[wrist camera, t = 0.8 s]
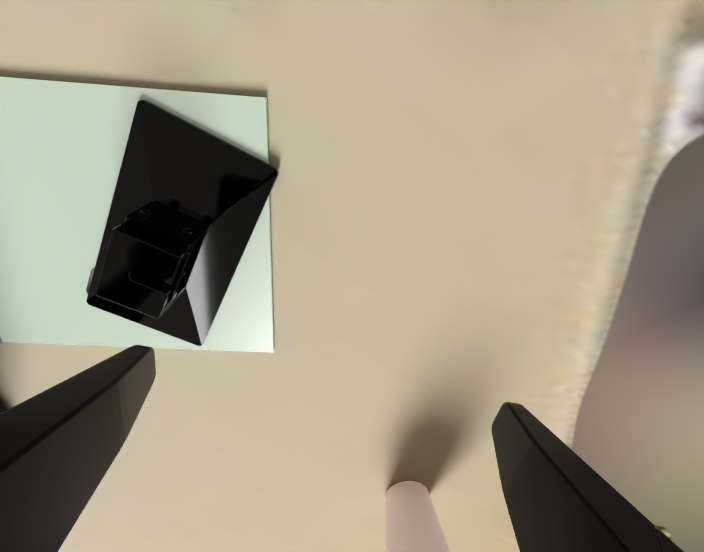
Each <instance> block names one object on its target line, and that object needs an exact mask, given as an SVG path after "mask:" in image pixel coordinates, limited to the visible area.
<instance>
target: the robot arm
mask: <svg viewBox="0 0 704 552" xmlns="http://www.w3.org/2000/svg"><path fill="white" fill-rule="evenodd" d="M155 375H156V368H155V354H154V350H153V348H152V347H148V346H142V345H134V346H131V347H129V348H127V349H125V350H123V351H121V352H119V353H118V354H116V355H114V356H112V357H110V358H108V359H106V360H104V361H102V362H100V363H98V364H96V365H94V366H92V367H90V368H88V369H86V370H84V371H83V372H81V373H79V374H77V375H75V376H73V377H71V378H69V379H67V380H65V381H63V382H61V383H59V384H57V385H55V386H53V387H51V388H49V389H47V390H46V391H44V392H42V393H40V394H38V395H36V396H34V397H32V398H30V399H28V400H26V401H24V402H22V403H20V404H18V405H16V406H14V407H12V408H11V409H9V410H7V411H5V409H4V407H3V405H2V403H1V401H0V552H58V550H59V549H60V547H61V545H62V544H63V542H64V540H65V539H66V537H67V536H68V534H69V532H70V531H71V529H72V527H73V526H74V524H75V523H76V521H77V519H78V518H79V516H80V514H81V513H82V511H83V509H84V508H85V506H86V505H87V503H88V501H89V500H90V498H91V496H92V495H93V493H94V492H95V490H96V488H97V487H98V485H99V483H100V482H101V480H102V478H103V477H104V475H105V474H106V472H107V470H108V469H109V467H110V465H111V464H112V462H113V461H114V459H115V457H116V456H117V454H118V452H119V451H120V449H121V447H122V446H123V444H124V442H125V440H126V438H127V436H128V434H129V433H130V431H131V428H132V426H133V424H134V422H135V420H136V418H137V416H138V414H139V412H140V409H141V407H142V405H143V403H144V401H145V399H146V397H147V395H148V393H149V391H150V388H151V386H152V384H153V382H154V379H155ZM492 436H493V441H494V447H495V452H496V458H497V463H498V469H499V474H500V480H501V484H502V489H503V493H504V497H505V501H506V504H507V508H508V511H509V515H510V518H511V522H512V525H513V529H514V532H515V536H516V539H517V543H518V546H519V550H520V552H684V551H682V550H681V549H680V548H679V547H678V546H677V545H676V544H675V543H673V542H672V541H671V540H670V539H669V538H668V537H667V536H666V535H665V534H664V533H663V532H661V531H660V530H659V529H657V528H655V526H654V524H652V523H651V522H650V521H649V520H648V519H647V518H646V517H645V516H644V515H643V514H641V513H640V512H639V511H638V510H637V509H636V508H635V507H634V506H633V505H632V504H630V503H629V502H628V501H627V500H626V499H625V498H624V497H623V496H622V495H621V494H619V493H618V492H617V491H616V490H615V489H614V488H613V487H612V486H611V485H609V484H608V483H607V482H606V481H605V480H604V479H603V478H602V477H601V476H599V475H598V474H597V473H596V472H595V471H594V470H593V469H592V468H591V467H590V466H589V465H587V464H586V463H585V462H584V461H583V460H582V459H581V458H580V457H578V456H577V455H576V454H575V453H574V452H573V451H572V450H571V449H570V448H569V447H568V446H567V445H565V444H564V443H563V442H562V441H561V440H560V439H559V438H558V437H557V436H556V435H554V434H553V433H552V432H551V431H550V430H549V429H548V428H547V427H546V426H545V425H543V424H542V423H541V422H540V421H539V420H538V419H537V418H536V417H535V416H534V415H532V414H531V413H530V412H529V411H528V410H527V409H526V408H525V407H524V406H522V405H521V404H518V403H511V402H505V403H504V404H503V405H502V406H501V408H500V410H499V412H498V414H497V416H496V417H495V419H494V421H493V424H492Z"/></svg>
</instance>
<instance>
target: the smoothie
mask: <svg viewBox="0 0 704 552" xmlns="http://www.w3.org/2000/svg"><path fill="white" fill-rule="evenodd" d="M385 552H450V551H449V549H448V546H447V543H446V540H445V537H444V534H443V532H442V529H441V526H440V523H439V520H438V517H437V515H436V512H435V509H434V506H433V503H432V500H431V497H430V495H429V492H428V489H427V487H426V486H425V485H423V484H422V483H419V482H416V481H403V482H399V483H396V484H394V485H393V486H391V487H390V488H389V489H388V490H387V492H386V515H385Z"/></svg>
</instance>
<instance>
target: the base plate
mask: <svg viewBox="0 0 704 552" xmlns="http://www.w3.org/2000/svg"><path fill="white" fill-rule="evenodd" d="M139 100H147V101H149V102H151V103H153V104H155V105H157V106H159V107H161V108H163V109H164V110H166V111H168V112H170V113H172V114H174V115H176V116H178V117H180V118H182V119H184V120H186V121H188V122H189V123H191V124H193V125H195V126H197V127H199V128H201V129H203V130H205V131H207V132H209V133H211V134H213V135H214V136H216V137H218V138H220V139H222V140H224V141H226V142H228V143H230V144H232V145H234V146H236V147H238V148H239V149H241V150H243V151H245V152H247V153H249V154H251V155H253V156H255V157H257V158H259V159H261V160H263V161H264V162H266V163H269V150H268V115H267V98H266V97H253V96H241V95H228V94H215V93H202V92H190V91H177V90H164V89H152V88H139V87H126V86H114V85H101V84H88V83H76V82H63V81H50V80H38V79H25V78H12V77H0V344H1V343H2V342H16V343H42V344H68V345H94V346H119V347H131V346H134V345H142V346H148V347H152V348H171V349H197V350H223V351H249V352H274V327H273V292H272V257H271V221H270V195H269V197H268V199H267V201H266V204H265V206H264V208H263V210H262V213H261V215H260V217H259V219H258V222H257V224H256V226H255V228H254V231H253V233H252V235H251V238H250V240H249V242H248V244H247V247H246V249H245V251H244V253H243V256H242V258H241V260H240V262H239V265H238V267H237V269H236V271H235V274H234V276H233V278H232V280H231V283H230V285H229V287H228V290H227V292H226V294H225V296H224V299H223V301H222V303H221V305H220V308H219V310H218V312H217V314H216V317H215V319H214V321H213V323H212V326H211V328H210V330H209V332H208V335H207V337H206V339H205V342H204V343H203V345H202V346H197V345H194V344H192V343H189V342H186V341H184V340H181V339H178V338H176V337H173V336H170V335H168V334H165V333H162V332H160V331H157V330H155V329H152V328H149V327H147V326H144V325H141V324H139V323H136V322H133V321H131V320H128V319H125V318H123V317H120V316H117V315H115V314H112V313H109V312H107V311H104V310H101V309H99V308H96V307H93V306H91V305H89V304H88V303H87V301H86V300H87V296H88V294H87V291H86V288H87V284H88V280H89V276H90V272H91V269H92V268H94V267H95V265H96V261H97V257H98V254H99V250H100V246H101V242H102V238H103V234H104V230H105V226H106V222H107V219H108V215H109V211H110V207H111V203H112V199H113V195H114V191H115V187H116V184H117V180H118V176H119V172H120V168H121V164H122V160H123V156H124V152H125V148H126V145H127V141H128V137H129V133H130V129H131V125H132V121H133V117H134V113H135V110H136V106H137V102H138V101H139Z"/></svg>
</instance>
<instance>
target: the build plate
mask: <svg viewBox="0 0 704 552" xmlns="http://www.w3.org/2000/svg"><path fill="white" fill-rule="evenodd" d="M278 174H279V170H278V169H277V168H276V167H274V166H272V165H271V164H269V163H266V162H264V161H263V160H261V159H259V158H257V157H255V156H253V155H251V154H249V153H247V152H245V151H243V150H241V149H239V148H238V147H236V146H234V145H232V144H230V143H228V142H226V141H224V140H222V139H220V138H218V137H216V136H214V135H213V134H211V133H209V132H207V131H205V130H203V129H201V128H199V127H197V126H195V125H193V124H191V123H189V122H188V121H186V120H184V119H182V118H180V117H178V116H176V115H174V114H172V113H170V112H168V111H166V110H164V109H163V108H161V107H159V106H157V105H155V104H153V103H151V102H149V101H147V100H139V101H138V102H137V106H136V110H135V113H134V117H133V121H132V125H131V129H130V133H129V137H128V141H127V145H126V148H125V152H124V156H123V160H122V164H121V168H120V172H119V176H118V180H117V184H116V187H115V191H114V195H113V199H112V203H111V207H110V211H109V215H108V219H107V222H106V226H105V230H104V234H103V238H102V242H101V246H100V250H99V254H98V257H97V261H96V265H95V267H94V268H92V269H91V272H90V276H89V280H88V284H87V288H86V291H87V294H88V296H87V300H86V301H87V303H88V304H89V305H91V306H93V307H96V308H99V309H101V310H104V311H107V312H109V313H112V314H115V315H117V316H120V317H123V318H125V319H128V320H131V321H133V322H136V323H139V324H141V325H144V326H147V327H149V328H152V329H155V330H157V331H160V332H162V333H165V334H168V335H170V336H173V337H176V338H178V339H181V340H184V341H186V342H189V343H192V344H194V345H197V346H202V345H203V343H204V342H205V339H206V337H207V335H208V332H209V330H210V328H211V326H212V323H213V321H214V319H215V317H216V314H217V312H218V310H219V308H220V305H221V303H222V301H223V299H224V296H225V294H226V292H227V290H228V287H229V285H230V283H231V280H232V278H233V276H234V274H235V271H236V269H237V267H238V265H239V262H240V260H241V258H242V256H243V253H244V251H245V249H246V247H247V244H248V242H249V240H250V238H251V235H252V233H253V231H254V228H255V226H256V224H257V222H258V219H259V217H260V215H261V213H262V210H263V208H264V206H265V204H266V201H267V199H268V197H269V195H270V192H271V190H272V188H273V186H274V183H275V181H276V179H277V177H278Z"/></svg>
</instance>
